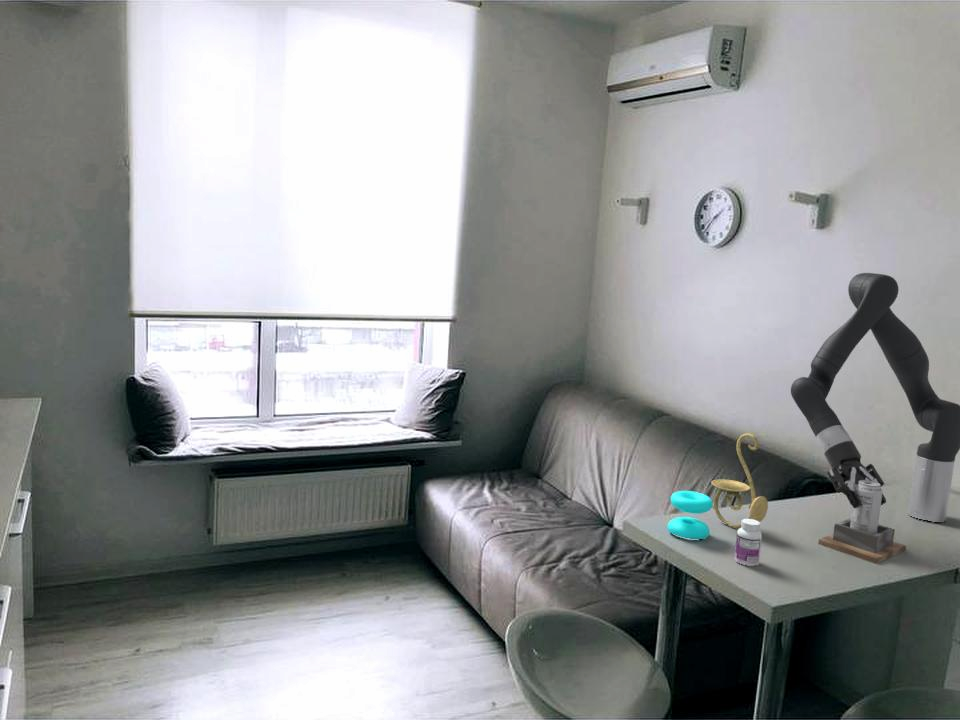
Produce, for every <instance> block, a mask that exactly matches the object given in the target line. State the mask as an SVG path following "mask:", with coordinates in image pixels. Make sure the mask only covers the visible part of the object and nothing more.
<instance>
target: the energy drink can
mask: <svg viewBox="0 0 960 720" xmlns="http://www.w3.org/2000/svg"><path fill="white" fill-rule="evenodd" d="M875 481H876V480H875ZM875 481H870V480H867V479H865V480H859V483H858V484H855V487H854V491H855V492H856V494H857V496H858V498H859V499H860V501H861V503H862V505H861V506H859V507H858V508H853V506H851V507H852V508H851V516H850V518H851V523H850V528H853V529H857V530H860V531H863V532H866V533H869V534H873V535H875V534H877V530H878V525H879V523H880V522H879V521H880V513H881V507H882V505H881V499H882V493H883V490H882V486H881V487H880V483H878V481H876V482H875Z"/></svg>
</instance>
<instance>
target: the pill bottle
mask: <svg viewBox="0 0 960 720" xmlns="http://www.w3.org/2000/svg"><path fill="white" fill-rule="evenodd" d="M740 523H741V527H742V528H737V532H736V541H735V549H734V561H735V562H736V563H737V562H738V563H737V564H739V563H740V564H739V565H741V564H743V565H742V566H745V565H747V566H746V567H755V565H756V566H758V565H759V564H760V563H759V562H760V557H761V556H760V555H761V554H760V553H761V549H762V548H761V547H762V538H763V535H762V532H761V531H760V528H761V522H759V521H756V520H753V519H749V518H742V519H741V522H740Z"/></svg>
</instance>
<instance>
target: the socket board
mask: <svg viewBox="0 0 960 720" xmlns="http://www.w3.org/2000/svg"><path fill="white" fill-rule="evenodd" d="M850 523H851V517H850V518H848V519H845V520H842V521H840V522H836V523H834V526H833V533H832V534H828V535H826V536H823V537H821V538H819V539H818V545H820V546H824V547H826V548H829V549H833V550H835V551H837V552H840V553H844V554H847V555H850V556H853V557H856V558H859V559H862V560H864V561H867V562H871V563H873V564H878V563H880V562H882V561H884V560H888V559H889V558H891V557H893V556H896V555H898V554H900V553H902V552H905V551H906V550H907V545H905V544H902V543H899V542H897V541H894V539H895V538H894V537H895V531H896V529H895V528H891V527H888V526H885V525H882V524H878V530H877V534H875V535H873V534H869V533H866V532H863V531H860V530H857V529H853V528H850Z"/></svg>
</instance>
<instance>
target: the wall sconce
mask: <svg viewBox="0 0 960 720" xmlns="http://www.w3.org/2000/svg"><path fill="white" fill-rule="evenodd" d="M745 438H750V439H752V441H754V446H752V445H751V444H748V449H749V450H751V451H752V452H753V451H756V450H757V449H759V447H760V446H759V445H760V443H759V440H758V437H756V436H755V435H754V434H752V433H749V432H747V433H743V434H741V435H740V436H739V437H738V439H737V442H736V452H737V456H738V458H739V461H740V463H741V466H742V468H743V470H744V472H745V475H746V477H747V481H748V484H749V485H748V484H746V483H744V482H742V481H737V480H731V479H722V478H721V479H714V480H711V482H710V483H711V485H712V486H713V487H715V488H717V489H719V490H717V492H716V493H715V495H714V500H713V509H714V511H715V514H716V516H717V518H718V519H719V520H720V521H721V522H722V523H723V522H724V523H726V524H728V525H731V526H732V527H735V528H734V529H740V528H742V527H741V524H735V523H732V522H729V521H728V520H726V519H725V518H724V516H722V514H721V512H720V510H719V506H718V505H719V504H718V502H719V498H720V495H721V494H722V493H724V492H725V493H726V494H727V495H728V496H725V498H726V501H725V502H728V503H731V502H732V500H733V498H732V497H731V496H730V495H733V496H735V498H736V499H737V501H738V504H737V506H734V505H730V508H731V510H733V511H739V510H741V509H742V506H743V498H742V497H741V495H740V494H739V493H743V492H744V493H746V492H749V490H750V494H751V503H750V504H749V505H748V509H749V518H748V519H753V520H756V521H759V522H760V523H761V522H762V521H763V520H764V519H765V517H766V516H767V513H768V508H769V502H768V499H767V498H766V497H765V496H757V497H756V491H755V486H754V485H755V484H754V482H753V478H752V475H751V472H750V470H749V467H748V466H747V464H746V461H745V459H744V456H743V453H742V450H741V444H742V441H743V440H745ZM724 523H723V524H724ZM726 524H725V525H726ZM728 525H727V526H728ZM732 527H731V528H732Z"/></svg>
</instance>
